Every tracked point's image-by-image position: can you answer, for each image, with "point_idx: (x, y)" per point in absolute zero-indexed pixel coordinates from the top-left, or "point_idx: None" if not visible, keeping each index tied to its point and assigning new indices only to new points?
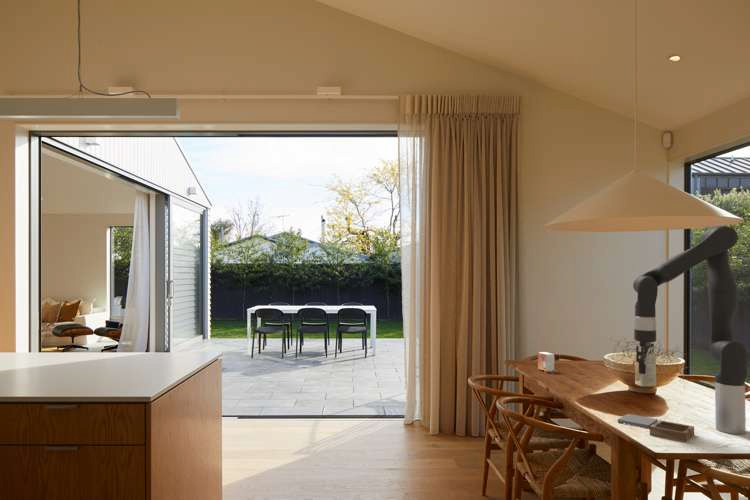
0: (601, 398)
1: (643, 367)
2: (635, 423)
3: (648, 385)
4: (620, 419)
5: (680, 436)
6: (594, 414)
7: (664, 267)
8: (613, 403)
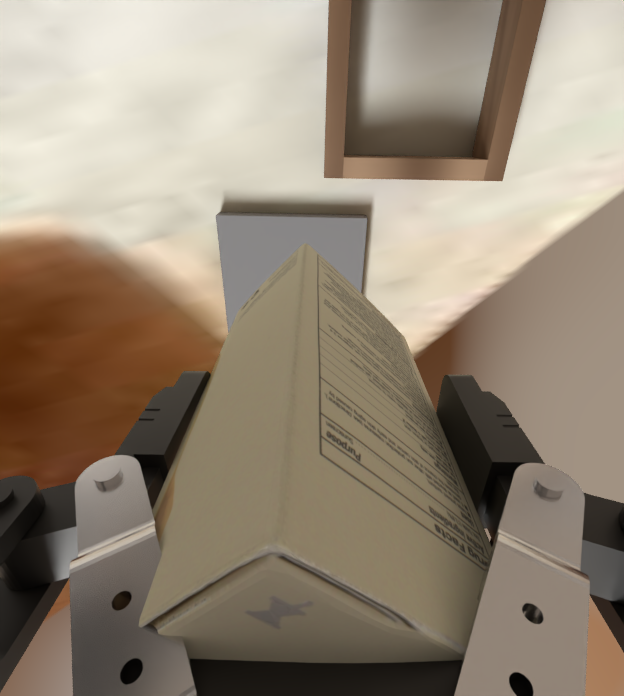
0: (45, 479)
1: (521, 437)
2: (361, 278)
3: (365, 297)
4: None
5: None
6: None
7: None
8: (73, 433)
